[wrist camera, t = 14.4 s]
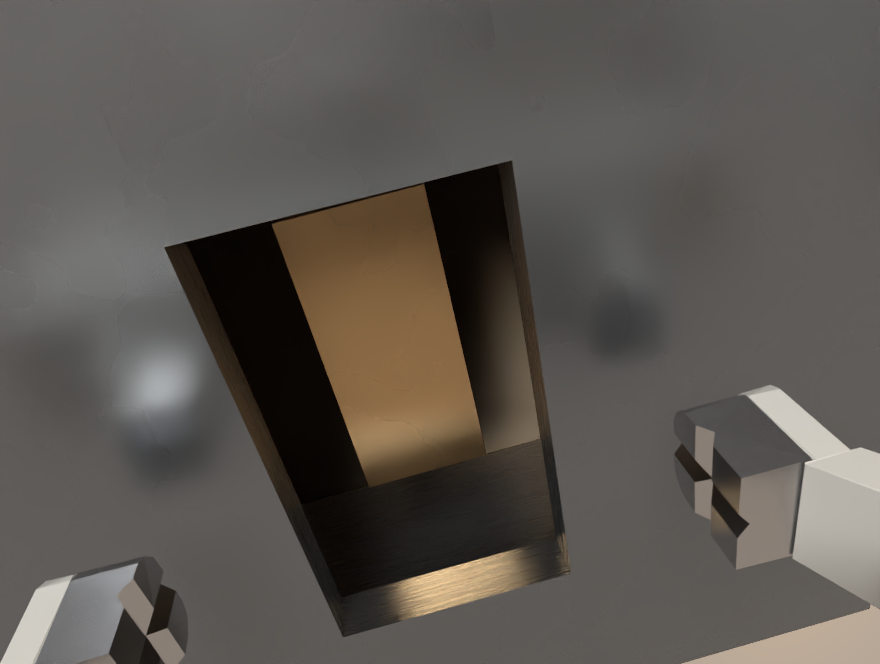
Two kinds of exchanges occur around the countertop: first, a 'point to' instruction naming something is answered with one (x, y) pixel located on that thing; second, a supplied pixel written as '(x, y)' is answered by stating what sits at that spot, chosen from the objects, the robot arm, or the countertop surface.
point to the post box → (539, 289)
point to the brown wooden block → (385, 330)
